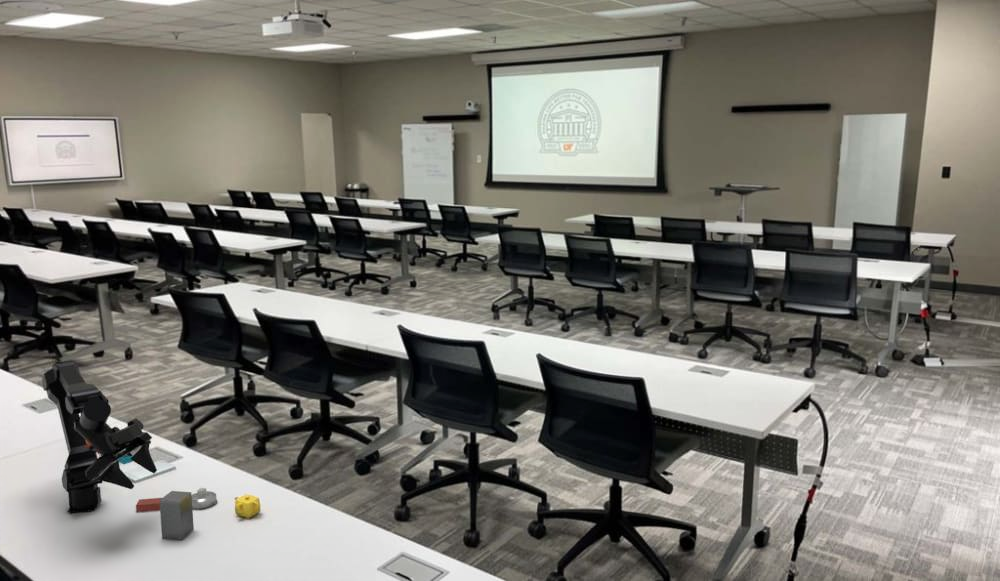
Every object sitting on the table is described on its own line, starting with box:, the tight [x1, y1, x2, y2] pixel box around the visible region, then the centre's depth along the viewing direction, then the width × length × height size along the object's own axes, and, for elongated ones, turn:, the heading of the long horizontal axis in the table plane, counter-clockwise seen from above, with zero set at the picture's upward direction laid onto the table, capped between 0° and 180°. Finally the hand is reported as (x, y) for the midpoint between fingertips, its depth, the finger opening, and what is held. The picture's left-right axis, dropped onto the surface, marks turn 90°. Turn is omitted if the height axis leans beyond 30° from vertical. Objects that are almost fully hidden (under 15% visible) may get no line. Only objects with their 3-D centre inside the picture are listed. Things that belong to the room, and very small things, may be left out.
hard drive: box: [123, 459, 177, 484], centre depth 214 cm, size 2×8×12 cm
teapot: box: [234, 493, 261, 520], centre depth 189 cm, size 8×6×5 cm
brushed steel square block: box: [159, 490, 195, 541], centre depth 178 cm, size 5×5×10 cm
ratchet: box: [135, 487, 218, 513], centre depth 193 cm, size 20×7×4 cm, turn 102°
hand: (144, 479), depth 178 cm, fingers open, 9 cm apart
